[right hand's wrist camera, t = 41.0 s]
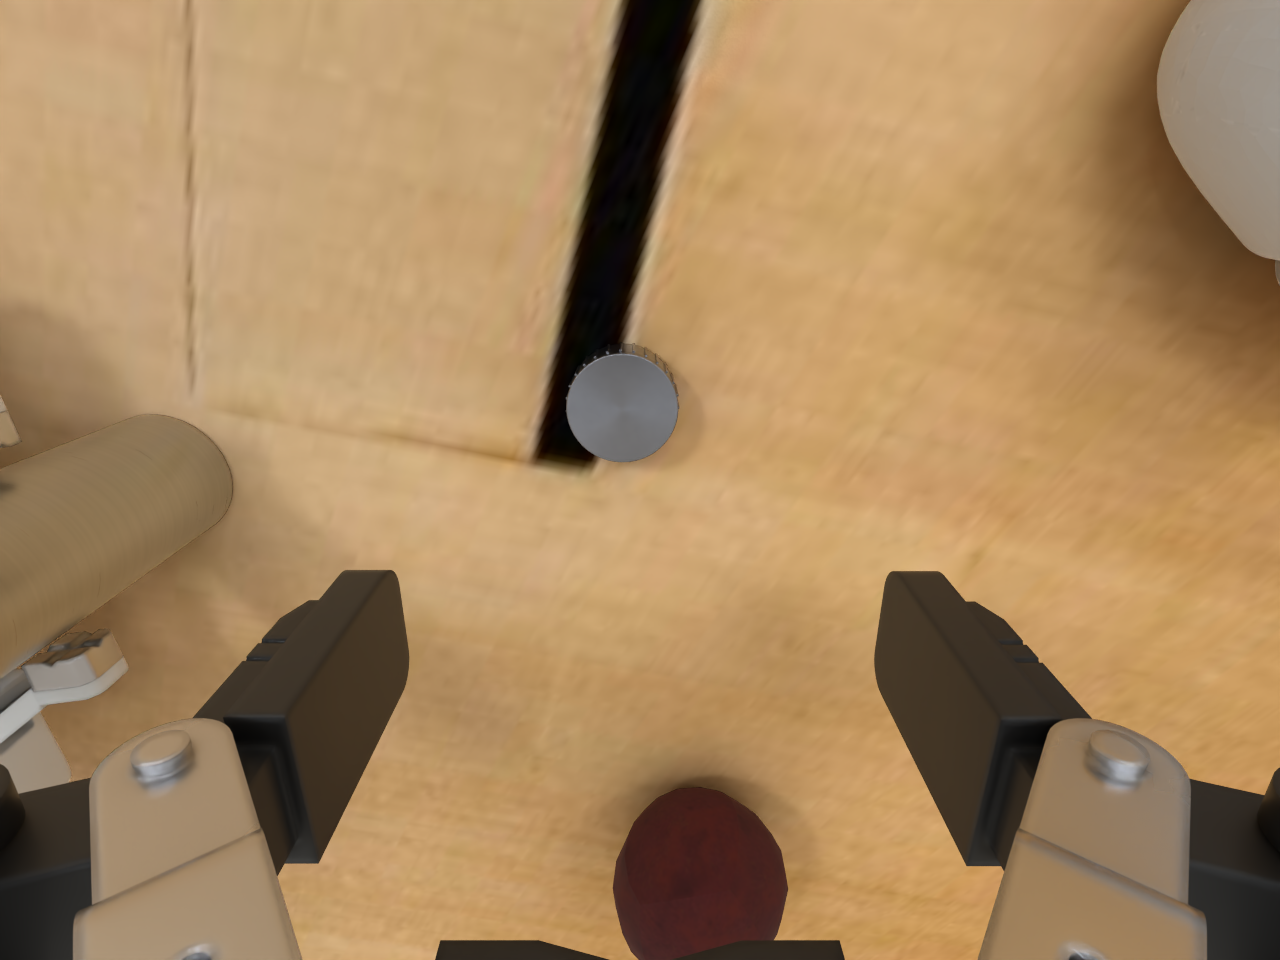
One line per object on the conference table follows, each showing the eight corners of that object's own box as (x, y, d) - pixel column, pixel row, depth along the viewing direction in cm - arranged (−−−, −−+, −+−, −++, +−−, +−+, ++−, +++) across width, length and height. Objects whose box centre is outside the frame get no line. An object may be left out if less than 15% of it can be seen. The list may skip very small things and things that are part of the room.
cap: (640, 464, 27) (640, 483, 25) (550, 412, 26) (543, 427, 24) (696, 378, 26) (702, 391, 24) (604, 320, 25) (601, 329, 23)
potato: (641, 890, 34) (643, 1048, 28) (594, 772, 32) (584, 916, 25) (786, 858, 34) (823, 1012, 27) (750, 735, 31) (781, 873, 25)
